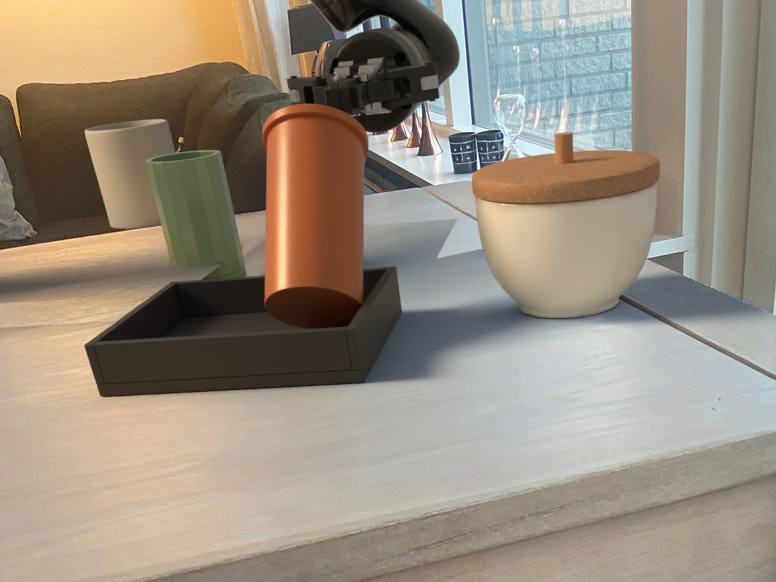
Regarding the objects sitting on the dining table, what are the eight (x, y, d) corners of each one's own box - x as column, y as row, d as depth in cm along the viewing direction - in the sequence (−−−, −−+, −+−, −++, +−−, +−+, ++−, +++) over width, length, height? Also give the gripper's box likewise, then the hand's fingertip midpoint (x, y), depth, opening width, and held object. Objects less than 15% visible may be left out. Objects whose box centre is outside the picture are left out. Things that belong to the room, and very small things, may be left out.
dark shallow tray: (99, 396, 61) (83, 345, 59) (182, 326, 73) (170, 281, 71) (363, 382, 59) (355, 328, 57) (402, 312, 71) (396, 266, 69)
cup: (166, 291, 83) (133, 164, 78) (190, 273, 88) (161, 153, 83) (234, 286, 82) (206, 158, 77) (255, 269, 88) (229, 147, 82)
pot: (243, 288, 60) (246, 107, 61) (280, 334, 67) (282, 170, 68) (352, 281, 59) (353, 97, 60) (378, 328, 66) (379, 163, 67)
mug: (191, 240, 101) (163, 124, 95) (109, 250, 101) (75, 134, 94) (200, 220, 111) (175, 113, 105) (126, 229, 110) (96, 122, 104)
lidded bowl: (591, 272, 76) (588, 116, 70) (694, 302, 67) (701, 125, 61) (452, 305, 72) (435, 141, 65) (541, 342, 62) (532, 155, 56)
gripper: (300, 36, 83) (242, 49, 69) (450, 20, 82) (422, 30, 67) (316, 133, 87) (265, 163, 73) (459, 120, 86) (435, 148, 72)
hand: (341, 99), depth 70 cm, fingers closed
